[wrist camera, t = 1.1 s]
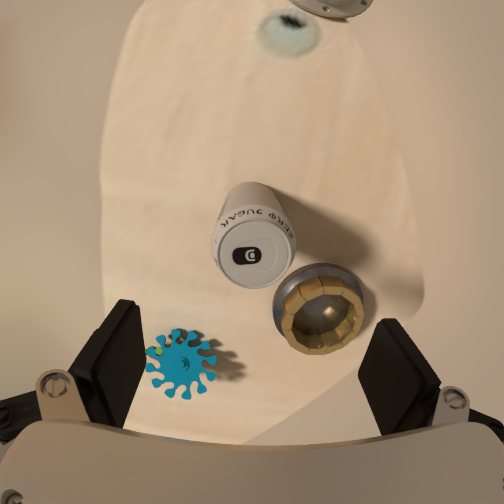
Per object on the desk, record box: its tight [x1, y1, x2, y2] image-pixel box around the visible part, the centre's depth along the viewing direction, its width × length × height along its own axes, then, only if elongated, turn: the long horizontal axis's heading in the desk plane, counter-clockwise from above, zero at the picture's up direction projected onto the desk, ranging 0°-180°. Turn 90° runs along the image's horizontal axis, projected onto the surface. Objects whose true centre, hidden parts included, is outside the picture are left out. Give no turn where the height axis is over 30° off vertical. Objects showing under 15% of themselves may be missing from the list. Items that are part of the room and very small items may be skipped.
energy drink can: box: [211, 182, 297, 289], centre depth 25 cm, size 6×6×15 cm
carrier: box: [272, 263, 365, 355], centre depth 35 cm, size 12×12×4 cm
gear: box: [145, 329, 217, 399], centre depth 38 cm, size 11×6×10 cm
